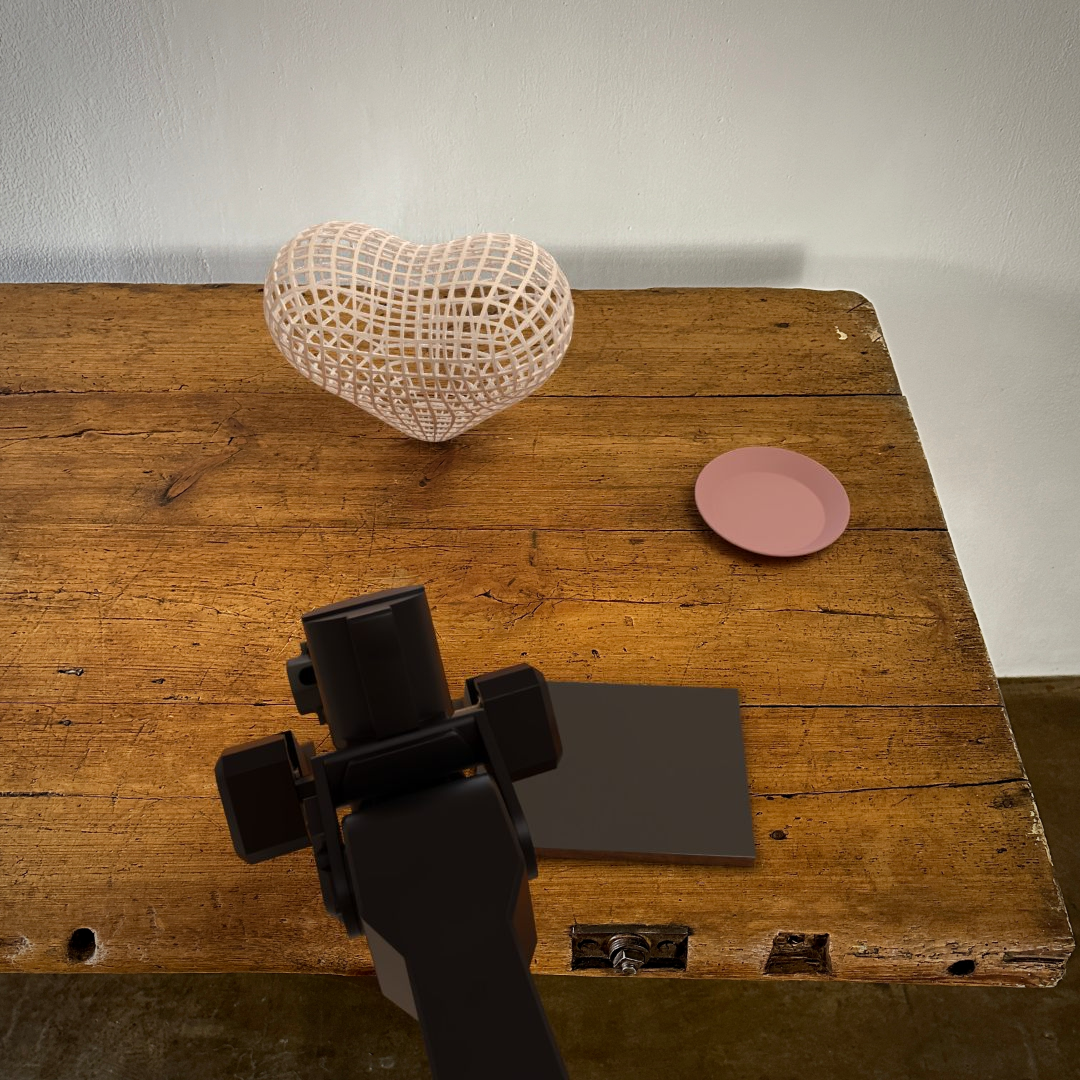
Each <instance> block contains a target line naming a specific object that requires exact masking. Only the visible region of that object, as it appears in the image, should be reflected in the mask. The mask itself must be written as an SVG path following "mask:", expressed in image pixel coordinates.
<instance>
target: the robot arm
mask: <svg viewBox="0 0 1080 1080" xmlns="http://www.w3.org/2000/svg"><path fill="white" fill-rule="evenodd" d="M300 619H301V624H302V628H303V632H304V636H305V641H301V642H299V646H300V651H301V652H300V654H299V655H298V656H297V657H292V658H289V659H287V660H286V661H285V670H286V675H287V679H288V683H289V687H290V691H291V695H292V698H293V701H294V703H295V704H294V705H295V707H296V710H297V712H298V714H299V715H300V716H302V717H303V716H306V715H310V714H316V715H317V719H318V722H319V723H318V724H319V726H324V725H327V727H328V731H329V735H330V740H331V742H332V746H333V747H334V748H335V750H332V751H329V752H325V753H321V754H317V749H316V746H315V742H314V740H308V741H305V742H303V743H301V744H300V743H299V741H298V739H297V738H296V736H295V734H294V733H293V731H292V730H291V729H288V730H285V731H281V732H277V733H274V734H270V735H267V736H263V737H260V738H257V739H253V740H250V741H247V742H242V743H240V744H236V745H232V746H229V747H225V748H223V750H222V752H221V753H220V755H219V757H218V758H217V760H216V762H215V766H214V768H213V770H214V777H215V784H216V787H217V791H218V794H219V798H220V801H221V805H222V810H223V812H224V817H225V819H226V824H227V827H228V831H229V835H230V838H231V842H232V845H233V850H234V852H235V854H236V857H237V858H238V859H240V860H241V861H243V862H245V863H247V864H248V865H250V866H253V865H257V864H261V863H264V862H267V861H269V860H273V859H276V858H279V857H282V856H285V855H289V854H291V853H295V852H298V851H301V850H304V849H306V848H307V849H308V848H310V847H312V852H313V857H314V861H315V867H316V872H317V877H318V881H319V882H318V883H319V887H320V891H321V897H322V901H323V905H324V909H325V912H326V915H328V916H330V917H331V918H333V919H334V920H337V921H339V923H340V925H344V928H345V931H346V934H347V937H348V939H349V940H354V939H356V938H360V937H363V936H365V940H366V943H367V947H368V949H369V954H370V957H371V961H372V965H373V967H374V970H375V974H376V978H377V982H378V985H379V989H380V991H381V994H382V995H383V996H384V997H385V998H387V999H388V1000H390V1001H391V1002H392V1003H393V1004H394V1005H396V1006H397V1007H399V1008H400V1009H402V1010H403V1011H404V1012H405V1013H406V1014H408V1015H409V1016H411V1017H412V1018H413V1019H415V1020H416V1021H417V1022H418V1024H419V1029H420V1032H421V1037H422V1041H423V1045H424V1050H425V1054H426V1058H427V1062H428V1067H429V1072H430V1076H431V1080H571V1077H570V1075H569V1071H568V1069H567V1066H566V1064H565V1063H566V1062H565V1061H564V1058H563V1055H562V1053H561V1050H560V1047H559V1045H558V1042H557V1039H556V1036H555V1034H554V1031H553V1028H552V1026H551V1023H550V1019H549V1017H548V1015H547V1012H546V1009H545V1007H544V1006H545V1005H544V1004H543V1001H542V998H541V995H540V992H539V990H538V987H537V985H536V981H535V979H534V977H533V973H532V971H531V965H532V962H533V959H534V955H535V952H536V950H537V949H536V948H537V945H538V933H537V927H536V921H535V914H534V913H535V912H534V908H533V902H532V895H531V889H530V883H529V881H531V880H534V879H537V878H538V877H539V868H538V861H537V857H536V856H535V851H534V847H533V843H532V839H531V835H530V832H529V829H528V825H527V822H526V819H525V816H524V814H523V811H522V808H521V805H520V803H519V800H518V797H517V795H516V792H515V790H514V787H513V784H512V783H513V782H516V781H519V780H523V779H526V778H529V777H532V776H535V775H538V774H542V773H545V772H548V771H551V770H554V769H557V767H558V765H559V763H560V760H561V758H562V756H563V747H562V743H561V739H560V735H559V731H558V726H557V722H556V718H555V714H554V710H553V706H552V702H551V697H550V693H549V689H548V685H547V682H546V681H547V679H546V677H545V675H544V673H543V672H542V671H540V670H539V669H537V668H536V667H534V666H532V665H531V664H529V663H528V662H521V663H518V664H514V665H511V666H510V665H509V666H507V667H504V668H500V669H497V670H493V671H489V672H487V673H483V674H479V675H475V676H472V677H468V678H466V679H464V689H463V690H464V692H463V697H459V698H453V699H452V697H451V691H450V688H449V684H448V679H447V675H446V672H445V667H444V663H443V658H442V654H441V651H440V646H439V642H438V638H437V633H436V630H435V625H434V622H433V616H432V613H431V609H430V604H429V600H428V596H427V592H426V587H425V586H424V584H413V585H412V584H411V585H406V586H399V587H393V588H387V589H383V590H379V591H375V592H371V593H366V594H361V595H358V596H353V597H350V598H346V599H342V600H340V601H337V602H333V603H330V604H327V605H323V606H320V607H317V608H315V609H312V610H309V611H306V612H305V613H303V614H302V615H300ZM480 765H482V766H483V768H484V769H485V770H486V772H487V773H483V774H479V775H478V774H472V775H468V776H467V774H466V773H465V772H464V771H467V770H470V769H473V768H477V766H480ZM349 808H350V812H351V813H347V814H344V816H343V817H342V819H341V821H340V820H339V816H338V812H339V811H343V810H346V809H349Z"/></svg>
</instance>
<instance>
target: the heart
mask: <svg viewBox="0 0 1080 1080" xmlns="http://www.w3.org/2000/svg"><path fill="white" fill-rule="evenodd" d="M324 232H328V233H324ZM318 239H322V241H321V242H317V241H318ZM328 240H333V242H332V243H329V242H328ZM306 241H307V243H304V244H302V242H306ZM340 241H344V242H345V241H346V242H349V246H348V245H344V244H340ZM327 242H328V243H327ZM374 243H375V244H374ZM354 244H356V246H354ZM377 244H378V245H377ZM492 244H493V245H499V246H492ZM478 245H484V246H478ZM500 245H501V246H500ZM362 246H364V247H362ZM475 246H476V247H475ZM385 247H387V248H385ZM388 248H389V249H388ZM316 252H318V253H316ZM323 252H330V254H325V253H323ZM339 252H350V258H349V257H345V256H342V255H341V256H340V255H339ZM496 252H497V253H502V257H500V256H494V255H493V256H492V254H491V253H496ZM421 254H422V255H421ZM423 254H425V255H423ZM299 255H300V256H299ZM359 255H362V256H365V257H366V262H364V261H361V260H359ZM453 255H456V256H453ZM449 256H451V257H449ZM513 256H516V257H517V259H512V257H513ZM371 258H372V259H374V262H373V264H372V263H371ZM400 258H402V259H405V261H403V260H401V259H400ZM314 259H317V263H314V262H315V261H314ZM538 259H539V260H538ZM323 260H330V261H328V262H327V261H326V262H323ZM301 261H302V266H300V267H296V263H297V262H301ZM415 261H417V262H418V263H415ZM472 261H473V263H474V265H470V266H466V267H464V263H465V262H472ZM486 261H487V262H486ZM379 262H380V266H379ZM385 263H387V264H389V265H390V264H391V265H392V267H391V270H390V269H387V268H385ZM455 263H457V265H456V268H450V265H451V264H455ZM509 265H512V266H515V267H518V268H519V274H517V273H514V272H512V271H509V270H510V269H509ZM496 266H501V268H496ZM286 267H287V272H286ZM339 267H350V271H347V270H342V269H339ZM398 267H402V268H403V267H404V268H405V269H406V272H401V271H400V272H399V271H398ZM437 267H438V269H437ZM358 268H359V269H365V275H362V274H359V273H357V269H358ZM429 268H432V270H431V269H429ZM445 268H446V269H445ZM539 269H540V270H542V271H543V272H545V273H544V274H545V276H544V275H542V274H541V273H540V272H539ZM370 271H372V274H371V277H370ZM412 271H415V272H418V273H412ZM525 271H526V273H525ZM279 272H280V276H279V277H278V273H279ZM471 272H474V275H473V276H472V279H470V280H469V279H467V275H466V273H471ZM482 272H485V273H490V276H491V277H490V278H485V279H482V277H481V273H482ZM315 273H319V276H320V277H319V278H320V280H319V281H316V277H315ZM324 273H325V274H330V278H327V279H325V274H324ZM377 273H379V279H377V278H376V277H377ZM302 274H304V277H305V278H304V279H305V280H306V285H300V286H299V283H298V279H297V276H298V275H302ZM460 274H462V279H463V280H459V278H460V276H461V275H460ZM496 274H497V276H496ZM384 275H385V276H388V277H389V281H388V282H385V281H383V280H384ZM452 275H453V277H452ZM532 275H533V277H532ZM340 276H344V277H340ZM442 276H447V279H448V281H447V282H441V279H442ZM347 277H349V278H347ZM432 277H433V281H434V284H433V283H427V282H426V278H432ZM415 279H419V280H415ZM286 280H289V284H290V285H289V286H290V288H288V284H287V282H286ZM397 280H400V281H402V282H404V285H401V284H397ZM511 281H520V284H519V286H518V288H514V287H512V286H511V285H512V284H511ZM341 282H344V283H350V286H349V288H345V287H342V286H341ZM501 282H506V285H505V284H502V283H501ZM330 283H331V285H327V284H330ZM555 283H556V284H555ZM280 284H282V287H283V290H284V291H283V292H282V293H281V291H280V287H279V285H280ZM357 285H360V286H364V287H363V291H359V290H357ZM527 285H528V286H529V287H531V288H532V289H533V290H534V293H530V292H526V286H527ZM540 285H544V286H546V287H545V289H543V288H542V287H540ZM477 286H479V287H478V288H479V292H480V296H481V297H472V295H473V293H474V290H475V288H476V287H477ZM484 287H491V288H490V290H489V292H488V295H487V296H485V290H484ZM368 288H370V293H367V291H368ZM457 289H464V291H465V296H463V297H455V291H456V290H457ZM498 289H500V290H503V291H506V292H507V294H506V293H505V294H499V291H498ZM318 290H322V291H326V294H327V296H326V297H324V298H322V299H320V298H319V294H318ZM375 290H377V292H376V295H375ZM398 290H402V291H403V292H402V291H398ZM427 290H432V294H431V298H427V297H425V291H427ZM440 290H448V294H447V298H440ZM307 291H309V292H310V293H311V295H312V297H313V302H314V303H313V304H308V302H307V301H306V299H305V297H304V296H303V293H305V292H307ZM331 291H332V292H331ZM410 291H417V295H412V294H410ZM382 292H384V293H387V296H386V297H387V298H385V297H381V293H382ZM552 292H553V294H554V296H555V297H556V299H555V302H554V301H553V299H552V298H551V294H552ZM273 293H274V295H275V300H274V297H273ZM340 293H341V294H342V295H344V296H346V297H347V298H346V299H345V300H344V302H343V303H342V304H341V303H340V302H339V299H338V295H340ZM395 296H397V297H401V298H402V300H395ZM562 296H563V297H562ZM572 296H573V295H572V292H571V289H570V283H569V281H568V278H567V277H566V275H565V274H564V272H563V271H562V269H561V268H560V265H559V264H558V263H557V261H556V260H555V258H554V257H553V256H552V255H551V254H550V253H549V252H548V251H546V250H545V249H544V248H542V247H541V245H538V244H537V243H536V242H535V241H532V240H530V239H528V238H524V237H523V236H519V235H516V234H513V233H507V232H485V233H479V234H473V235H472V234H471V235H468V236H463V237H461V238H457V239H453V240H449V241H445V242H440V243H435V244H433V243H432V244H421V243H417V242H411V241H409V240H406V239H404V238H402V237H399V236H397V235H395V234H392V233H391V232H388V231H386V230H383V229H381V228H379V227H376V226H373V225H370V224H367V223H363V222H357V221H349V220H348V221H347V220H331V221H325V222H322V223H318V224H314V225H312V226H309V227H307V228H305V229H303V230H302V231H300V232H299V233H297V234H296V235H295V236H294V237H292V238H291V239H289V240H288V241H287V242H286V243H285V244H283V246H282V247H281V248H280V249H279V251H278V252H277V254H276V255H275V257H274V259H273V261H272V263H271V265H270V266H269V269H268V271H267V274H266V276H265V279H264V286H263V304H262V305H263V315H264V320H265V324H266V326H267V328H268V331H269V333H270V336H271V339H272V340H273V342H274V344H275V346H276V348H277V349H278V351H279V353H280V354H282V356H283V357H284V358H285V360H286V361H287V362H288V363H289V364H290V365H291V366H292V367H293V368H294V369H295V370H296V371H297V372H299V373H300V374H301V375H302V376H304V377H305V378H306V379H308V380H309V381H311V382H313V383H314V384H316V385H317V386H319V387H320V388H322V389H324V390H325V391H328V392H330V393H331V394H333V395H335V396H337V397H339V398H341V399H344V400H345V401H347V402H349V403H351V404H353V405H354V406H356V407H358V408H360V409H361V410H363V411H365V412H366V413H368V414H370V415H372V416H374V417H375V418H377V419H379V420H381V422H384V423H386V424H388V425H389V426H391V427H392V428H394V429H396V430H398V431H399V432H400V433H403V434H404V435H407V436H409V437H411V438H414V439H417V440H420V441H424V442H429V443H430V442H431V443H432V442H433V443H436V442H437V443H438V442H444V441H448V440H450V439H453V438H456V437H457V436H460V435H461V434H463V433H465V432H467V431H469V430H470V429H472V428H474V427H476V426H477V425H479V424H481V423H483V422H485V421H486V420H488V419H489V418H491V417H493V416H495V415H497V414H499V413H501V412H502V411H504V410H507V409H508V408H510V407H512V406H514V405H516V404H517V403H519V402H521V401H523V400H524V399H526V398H528V397H529V396H530V395H532V394H533V393H534V392H535V391H537V390H538V389H539V388H541V387H542V386H543V385H544V384H545V383H546V382H547V381H548V380H549V378H551V376H552V375H553V374H554V373H555V372H556V370H557V369H558V368H559V366H560V365H561V364H562V361H563V359H564V357H565V355H566V352H567V350H568V349H569V346H570V342H571V340H572V337H573V329H574V321H575V305H574V301H573V298H572ZM519 298H521V299H522V309H521V310H519V309H517V308H515V304H516V302H517V301H518V299H519ZM293 299H294V300H293ZM351 299H352V309H350V308H347V307H346V306H347V304H348V303H349V302H350V300H351ZM366 299H368V300H366ZM369 299H370V300H369ZM506 299H507V300H508V301H509V303H508V304H506V303H504V302H500V300H506ZM330 300H332V302H333V305H334V306H332V305H324V304H325V303H327V302H329V301H330ZM409 300H411V301H409ZM288 302H289V304H290V306H291V308H287V307H286V304H287V303H288ZM357 302H359V305H358V307H357ZM379 302H382V303H386V305H382V304H379ZM527 302H528V303H529V304H530V305H532V306H531V307H527ZM472 304H482V309H481V312H480V314H479V315H474V314H473V307H472V306H473V305H472ZM363 305H367V306H369V313H368V312H364V311H361V310H362V308H363ZM393 305H398V306H401V309H399V308H395V307H393ZM441 305H445V306H444V307H445V308H444V311H443V312H444V313H443V315H441V311H440V310H441V309H440V308H441V307H440V306H441ZM457 305H462V308H461V311H460V315H457V313H458V312H457ZM490 305H491V306H495V307H496V309H497V313H498V314H492V315H490V314H489V313H488V308H489V306H490ZM424 306H429V307H430V308H429V313H424ZM548 306H550V307H551V308H552V312H551V314H550V316H549V315H548V313H547V312H546V311H547V308H548ZM408 307H415V311H410V310H408ZM451 308H452V309H451ZM450 309H451V310H452V315H450ZM502 309H505V310H504V311H503V312H502ZM313 310H315V312H316V313H315V312H314V311H313ZM322 310H323V311H324V312H325V313H326V314H327V316H328V317H327V318H325V319H324V320H323V318H322ZM377 310H383V311H386V312H385V316H382V315H377V314H376V313H377V312H376V311H377ZM467 310H468V315H466V314H467ZM280 311H282V314H281V315H280ZM331 311H333V313H332V312H331ZM292 313H295V314H296V315H295V316H294V317H293V318H292V316H291V314H292ZM308 313H309V314H310V315H311V316H312V317H313V318H314V320H315V321H316V322H317V324H310V323H309V322H308V320H307V319H306V317H305V315H307V314H308ZM340 313H345V314H349V315H351V316H352V318H351V319H350V320H349V321H348V322H347V324H345V323H344V322H342V321H341V320H340ZM392 313H395V314H399V315H400V318H394V317H391V314H392ZM536 314H537V316H536ZM407 316H413V317H414V319H407ZM517 316H518V317H519V318H522V319H523V321H522V322H521V323H520V324H519V322H518V318H517ZM535 316H536V317H535ZM509 317H512V321H513V323H514V327H515V329H514V328H512V327H509V326H507V325H506V324H505V320H506V319H507V318H509ZM368 318H369V319H368ZM424 318H425V319H424ZM426 318H427V319H426ZM497 319H499V321H494V320H497ZM540 319H542V320H543V321H544V322H545V324H544V325H543V326H542V327H541V328H540V329H539V328H538V326H537V325H536V322H537V321H539V320H540ZM285 320H287V321H288V324H286V323H285ZM299 320H300V322H301V323H297V322H298V321H299ZM358 320H359V321H362V322H364V323H366V326H365V328H364V329H363V331H358V323H357V322H358ZM374 320H379V321H383V322H384V323H380V322H376V321H374ZM331 321H333V322H335V326H329V325H328V326H327V324H328V323H330V322H331ZM564 321H565V324H564ZM390 323H396V324H400V326H396V325H390ZM441 323H442V330H441ZM448 323H452V325H453V330H448ZM464 323H469V326H470V332H465V331H464V332H463V328H464V327H463V326H464ZM475 323H476V328H475ZM406 324H410V325H411V324H412V325H414V327H407V326H406ZM423 324H424V325H425V324H428V329H427V328H423ZM434 324H435V329H434V328H433V327H434ZM482 324H483V325H485V328H486V333H480V331H481V328H482ZM351 326H352V327H353V329H352V328H350V327H351ZM491 326H494V327H495V330H494V332H493V333H492V331H491ZM341 327H342V328H341ZM374 327H377V328H381V329H382V332H381V335H380V334H374ZM529 327H530V328H531V330H532V332H533V333H534V335H532V336H530V337H529V338H527V339H525V336H524V334H523V332H522V331H524V330H526V329H527V328H529ZM500 329H501V332H500ZM308 330H309V332H308ZM389 330H390V331H399V337H397V336H396V337H395V336H390V334H389V333H390V331H389ZM295 331H297V333H298V334H299V335H300V336H301V337H302V338H301V337H298V336H297V335H294V334H295ZM324 331H325V332H328V333H329V334H330V335H331V336H333V338H332V339H330V340H329V341H328V340H327V339H325V337H324V336H325V334H324ZM368 332H369V333H368ZM405 332H414V333H413V334H414V337H413V338H408V337H407V338H405ZM549 332H551V333H549ZM423 333H426V334H427V338H423ZM548 333H549V335H548V336H547V337H546V338H545V336H546V335H547V334H548ZM433 334H434V335H435V338H433ZM343 335H349V336H353V343H352V344H350V343H349V342H348V341H346V340H344V339H343V338H342V336H343ZM313 336H316V337H317V338H318V339H319V343H318V342H313V340H311V338H313ZM447 336H453V338H447ZM508 336H509V337H508ZM462 337H469V338H462ZM501 337H503V339H504V341H502V340H501V341H500V340H496V339H497V338H501ZM479 338H481V339H479ZM482 338H483V339H482ZM516 338H517V339H518V340H519V341H520V343H518V344H516V345H513V346H512V345H511V343H512V341H514V339H516ZM375 340H379V343H378V342H376V341H375ZM551 340H553V343H552V344H551V345H550V346H549V345H548V343H549V342H550V341H551ZM362 341H365V342H367V343H369V351H364V350H359V349H358V345H360V343H361V342H362ZM390 342H394V343H390ZM538 342H539V343H540V344H539V345H537V347H535V348H534V349H533V350H531V348H532V347H533V346H534V345H535V344H536V343H538ZM334 343H336V346H335V345H334V346H333V344H334ZM295 344H296V345H297V347H298V348H296V347H295ZM342 344H343V345H345V346H346V347H347V348H344V347H342V346H341V345H342ZM447 344H453V346H451V345H447ZM462 344H468V345H470V348H464V347H462ZM478 345H488V352H489V353H488V352H483V351H480V350H478ZM374 346H375V347H376V348H374ZM495 346H505V348H506V349H504V350H501V351H498V352H496V351H495ZM309 348H314V349H315V350H316V351H317V352H318V354H317V356H315V355H314V354H313V353H312V352H311V351H310V349H309ZM394 348H399V353H400V355H396V354H389V352H390V349H394ZM405 348H414V356H408V355H407V356H406V355H405ZM423 348H428V356H429V357H423ZM434 349H435V357H434ZM441 350H442V357H440V351H441ZM448 350H451V351H452V357H448ZM540 350H542V352H541V353H539V354H538V355H537V356H534V355H535V354H536V353H537V352H539V351H540ZM327 351H329V352H333V353H336V360H335V359H334V358H332V357H331V356H330V355H329V354H327ZM379 351H380V353H378V352H379ZM462 352H463V353H469V354H470V356H469V357H466V358H465V357H463V356H462ZM524 352H525V355H524V356H523V355H522V357H520V358H517V356H519V355H520V354H522V353H524ZM552 352H553V353H552ZM349 355H352V357H353V358H352V359H353V360H352V359H350V358H349V357H348V356H349ZM359 356H360V357H361V358H363V359H362V360H361V362H359V363H358V362H357V360H358V358H357V357H359ZM478 356H481V357H478ZM374 359H382V360H384V361H385V363H384V365H383V366H381V367H380V368H379V369H378V368H377V366H376V365H375V364H374V361H373V360H374ZM327 360H328V361H327ZM344 360H345V361H346V362H348V365H347V364H342V362H344ZM390 360H391V361H390ZM505 360H509V364H508V365H506V366H504V367H503V366H502V364H501V363H500V362H502V361H505ZM525 360H527V361H526V362H524V363H522V362H523V361H525ZM302 361H303V362H302ZM540 362H541V365H540V366H539V365H538V364H539V363H540ZM304 363H305V364H304ZM357 363H358V364H357ZM366 363H368V367H363V366H364V365H365V364H366ZM407 363H409V364H410V363H415V364H416V366H415V367H416V371H417V372H410V371H409V369H408V364H407ZM423 363H427V364H428V363H429V365H430V368H431V373H429V372H427V373H426V372H424V364H423ZM520 363H522V364H520ZM440 364H443V366H444V369H445V373H446V374H442V373H440ZM473 364H474V366H473ZM479 364H485V365H484V366H483V368H482V369H480V365H479ZM396 365H401V366H400V367H401V371H399V370H398V371H397V370H394V369H393V367H392V366H396ZM450 365H451V367H450ZM490 365H492V370H493V372H491V373H486V372H487V371H488V369H489V368H490ZM318 366H320V367H321V369H319V368H318ZM456 366H457V367H458V368H459V372H460V374H455V369H456ZM465 369H466V370H465ZM498 370H499V371H498ZM471 371H472V372H475V373H476V374H470V372H471ZM327 372H328V373H327ZM342 372H343V373H345V374H346V375H348V377H344V376H343V377H342ZM525 372H527V375H526V376H525ZM358 373H361V374H362V375H363V376H364V377H365V378H366V379H367V380H360V379H359V378H358V377H357V375H358ZM511 374H512V375H511ZM508 375H511V376H510V377H508ZM377 376H378V377H379V378H380V379H381V380H382V382H378V381H377V382H376V381H374V379H375V378H376V377H377ZM384 376H385V378H384ZM391 377H393V378H394V379H393V380H391ZM500 377H503V379H504V381H503V382H502V383H501V381H500V380H501V379H500ZM518 377H519V378H518ZM412 378H414V379H415V378H416V379H418V381H419V385H420V386H417V385H414V384H413V381H412ZM425 379H426V380H427V379H428V380H433V381H434V387H430V386H426V380H425ZM533 379H534V380H533ZM440 380H442V381H447V387H446V388H444V387H443V388H442V385H441V383H440ZM484 380H485V381H486V382H487V383H486V385H485V383H484ZM531 380H532V381H531ZM400 381H402V382H403V383H402V384H401V383H400ZM454 381H456V382H459V383H461V384H460V386H459V388H457V387H456V385H455V382H454ZM470 381H475V382H474V383H472V382H470ZM342 383H343V384H344V385H343V384H342ZM495 383H496V385H495ZM358 386H360V387H361V388H360V389H359V388H358ZM478 386H479V387H478ZM464 387H465V388H464ZM505 388H506V390H504V389H505ZM375 389H377V391H379V392H375ZM393 389H395V390H400V391H401V394H396V393H395V391H394V390H393ZM385 392H387V393H385ZM420 392H422V396H423V397H422V396H417V395H418V394H417V393H420ZM489 392H491V393H489ZM429 393H434V397H430V396H429ZM411 394H413V396H412V395H411ZM462 394H463V395H462ZM464 394H465V395H466V394H467V395H466V397H465V396H464ZM475 394H477V396H476V395H475ZM438 395H439V396H440V398H438ZM449 395H451V396H454V398H453V399H452V398H448V397H449ZM382 398H384V399H386V400H387V401H384V399H382ZM403 401H406V402H407V403H404V402H403ZM413 401H414V402H416V403H414V402H413ZM398 402H399V403H398ZM487 402H489V403H487ZM455 404H457V405H459V404H460V405H459V406H457V407H456V406H455ZM475 404H476V405H475ZM474 405H475V406H474ZM382 406H384V407H382ZM401 408H403V409H404V410H403V409H401ZM417 410H419V411H417ZM424 410H425V411H426V412H425V411H424ZM423 411H424V412H423ZM437 411H440V413H439V412H438V413H437ZM444 412H448V413H444ZM425 417H427V418H425Z"/></svg>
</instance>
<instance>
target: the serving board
mask: <svg viewBox="0 0 1080 1080" xmlns="http://www.w3.org/2000/svg"><path fill="white" fill-rule="evenodd" d="M546 682H547V685H548V689H549V693H550V697H551V702H552V706H553V710H554V714H555V718H556V722H557V726H558V731H559V735H560V739H561V743H562V747H563V756H562V758H561V760H560V763H559V765H558V767H557V769H554V770H551V771H548V772H545V773H542V774H538V775H535V776H532V777H529V778H526V779H523V780H519V781H516V782H513V783H512V784H513V787H514V790H515V792H516V795H517V797H518V800H519V803H520V805H521V808H522V811H523V814H524V816H525V819H526V822H527V825H528V829H529V832H530V835H531V839H532V843H533V847H534V851H535V856H536V858H552V859H553V858H555V859H573V860H575V859H577V860H598V861H599V860H601V861H618V862H619V861H621V862H640V863H641V862H642V863H643V862H644V863H663V864H665V863H666V864H687V865H705V866H706V865H709V866H730V867H754V864H755V862H756V859H757V853H756V843H755V833H754V825H753V816H752V815H753V814H752V807H751V797H750V789H749V779H748V770H747V760H746V752H745V743H744V734H743V724H742V715H741V707H740V696H739V695H740V694H739V688H732V687H707V686H687V685H686V686H683V685H682V686H681V685H661V684H660V685H658V684H656V685H655V684H637V683H636V684H632V683H612V682H610V683H609V682H586V681H562V680H560V681H558V680H556V681H555V680H546ZM483 773H487V772H486V770H485V769H484V768H483V766H482V765H480V766H477V767H476V774H478V775H479V774H483Z"/></svg>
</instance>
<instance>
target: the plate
mask: <svg viewBox="0 0 1080 1080" xmlns="http://www.w3.org/2000/svg"><path fill="white" fill-rule="evenodd" d="M694 499H695V504H696V508H697V510H698V512H699V514H700V516H701V517H702V519H703V521H704V522H705V523H706V524H707V525H708V526H709V528H710V529H711V530H713V532H715V533H716V534H717V535H718V536H719V537H721V538H722V539H724V540H726V541H727V542H729V543H730V544H732V545H734V546H736V547H738V548H741V549H743V550H746V551H749V552H752V553H755V554H759V555H762V556H763V555H764V556H771V557H783V558H784V557H785V558H786V557H799V556H805V555H809V554H813V553H816V552H819V551H821V550H823V549H825V548H827V547H828V546H830V545H832V544H834V542H836V541H837V540H838V539H839V538H840V537H841V536H842V534H843V533H844V531H845V530H846V528H847V526H848V524H849V521H850V516H851V504H850V499H849V497H848V494H847V491H846V490H845V488H844V486H843V484H842V482H840V480H839V479H838V478H837V477H836V476H835V475H834V474H833V473H832V472H831V471H830V470H829V469H828V468H826V466H823V465H822V464H820V463H819V462H818V461H816V460H814V459H812V458H810V457H808V456H807V455H803V454H801V453H800V452H796V451H793V450H790V449H784V448H780V447H773V446H747V447H746V446H745V447H741V448H736V449H733V450H730V451H727V452H724V453H722V454H720V455H718V456H717V457H715V458H714V459H712V460H711V461H709V463H707V464H706V465H705V466H704V467H703V469H702V470H701V472H700V473H699V475H698V476H697V479H696V482H695V486H694Z"/></svg>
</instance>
